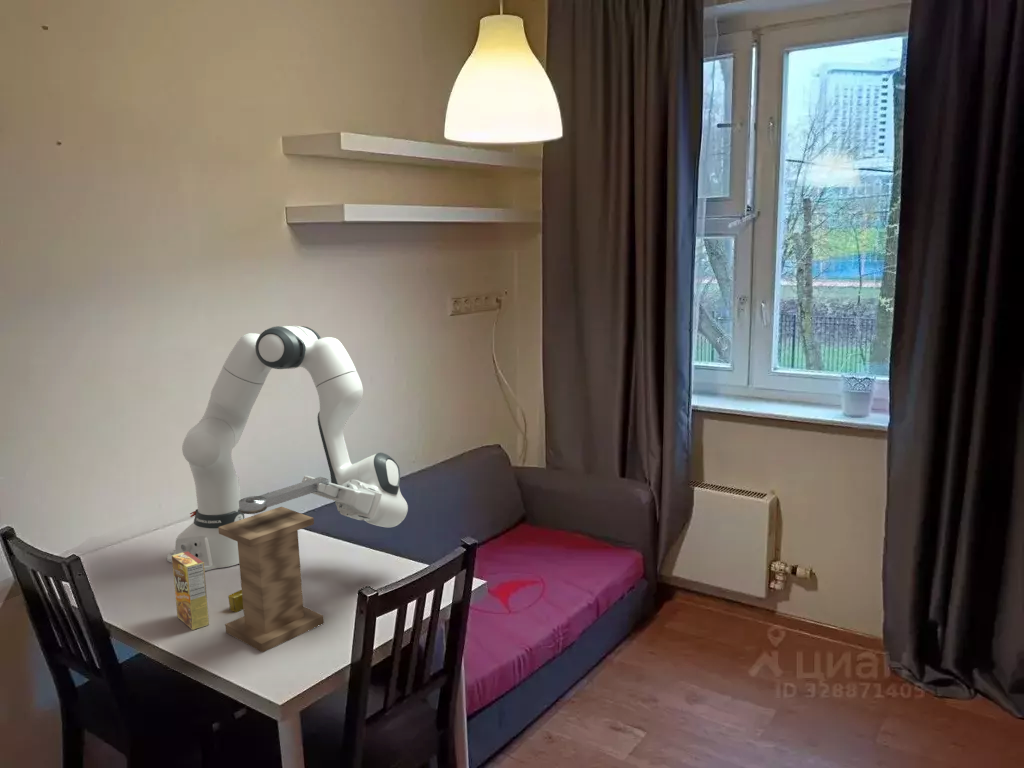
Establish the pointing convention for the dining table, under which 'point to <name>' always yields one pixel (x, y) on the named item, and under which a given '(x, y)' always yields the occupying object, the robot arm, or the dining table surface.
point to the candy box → (190, 590)
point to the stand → (270, 578)
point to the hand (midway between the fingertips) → (311, 484)
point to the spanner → (279, 496)
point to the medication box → (236, 601)
